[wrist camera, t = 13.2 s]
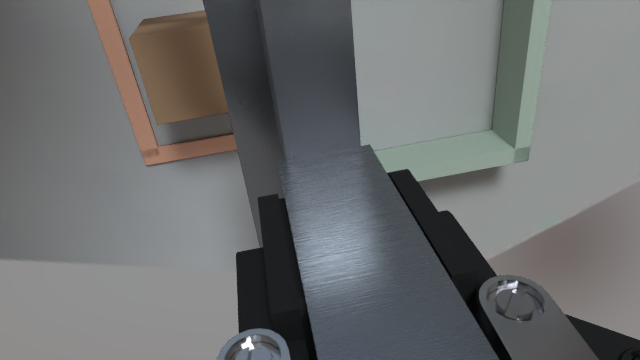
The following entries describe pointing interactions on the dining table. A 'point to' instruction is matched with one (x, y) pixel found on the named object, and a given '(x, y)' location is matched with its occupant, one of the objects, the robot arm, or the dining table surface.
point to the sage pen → (509, 107)
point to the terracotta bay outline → (134, 101)
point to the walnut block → (179, 67)
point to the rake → (333, 186)
